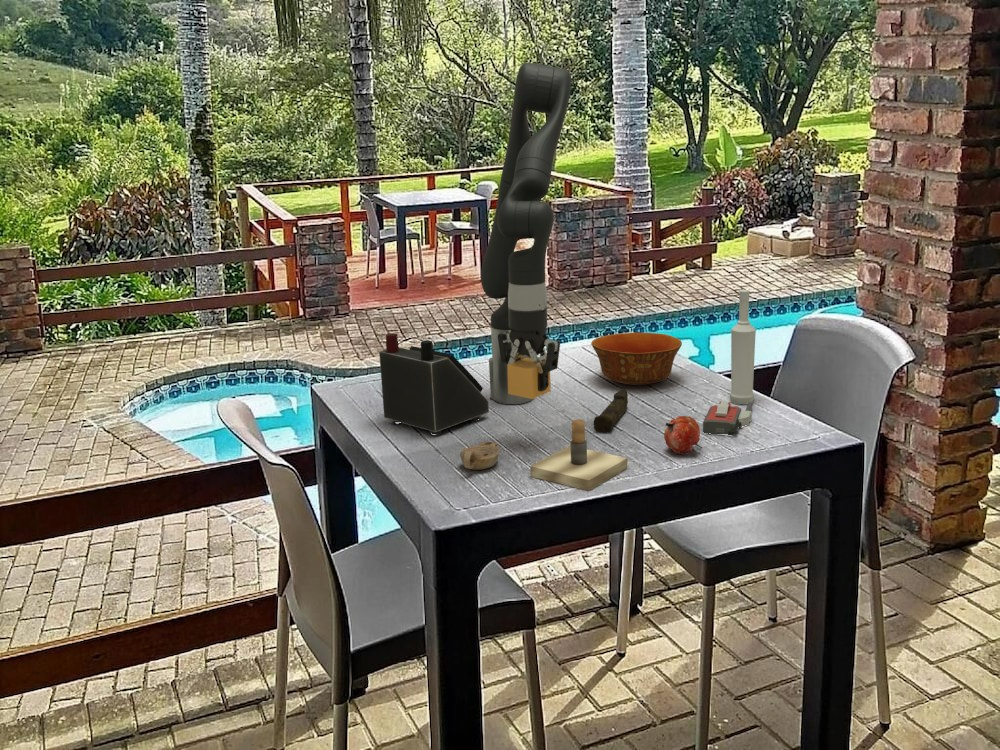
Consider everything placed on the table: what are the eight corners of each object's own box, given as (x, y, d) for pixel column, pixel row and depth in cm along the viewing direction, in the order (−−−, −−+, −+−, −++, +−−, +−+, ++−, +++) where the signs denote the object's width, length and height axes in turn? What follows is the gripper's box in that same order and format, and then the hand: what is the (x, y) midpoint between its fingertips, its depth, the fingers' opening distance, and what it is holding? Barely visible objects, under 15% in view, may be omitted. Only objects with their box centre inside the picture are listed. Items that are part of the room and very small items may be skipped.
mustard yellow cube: (508, 393, 209) (507, 364, 207) (526, 386, 213) (526, 357, 211) (532, 399, 205) (531, 369, 203) (550, 391, 209) (550, 362, 208)
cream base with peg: (530, 476, 195) (528, 425, 193) (570, 455, 205) (568, 406, 202) (589, 490, 188) (588, 437, 185) (627, 468, 197) (627, 417, 194)
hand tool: (611, 435, 216) (611, 413, 215) (593, 433, 218) (592, 411, 216) (638, 407, 233) (638, 387, 231) (620, 406, 234) (620, 386, 233)
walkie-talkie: (744, 440, 210) (755, 409, 228) (745, 419, 209) (756, 390, 227) (700, 437, 213) (714, 407, 231) (700, 416, 212) (714, 387, 230)
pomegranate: (686, 453, 210) (648, 428, 207) (709, 425, 208) (671, 400, 205) (696, 470, 203) (657, 445, 200) (720, 441, 201) (681, 416, 198)
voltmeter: (490, 418, 229) (486, 328, 224) (435, 438, 218) (430, 345, 212) (439, 404, 240) (433, 319, 234) (384, 423, 228) (377, 334, 223)
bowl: (619, 365, 265) (619, 326, 262) (696, 376, 253) (697, 336, 250) (575, 386, 249) (574, 345, 246) (656, 399, 237) (656, 356, 234)
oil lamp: (475, 453, 209) (474, 429, 207) (510, 457, 206) (509, 432, 204) (447, 476, 197) (446, 451, 196) (484, 481, 194) (482, 456, 193)
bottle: (749, 406, 229) (752, 293, 222) (726, 403, 232) (728, 292, 225) (757, 399, 233) (760, 289, 226) (734, 397, 236) (736, 287, 229)
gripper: (486, 304, 205) (489, 386, 210) (545, 313, 197) (547, 398, 201) (510, 296, 211) (512, 376, 216) (569, 305, 202) (569, 388, 207)
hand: (529, 387), depth 209 cm, fingers closed on mustard yellow cube, 6 cm apart
